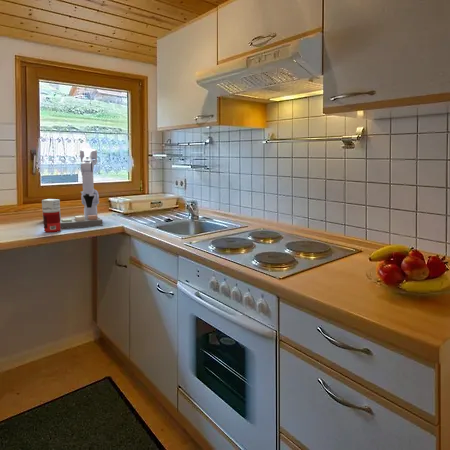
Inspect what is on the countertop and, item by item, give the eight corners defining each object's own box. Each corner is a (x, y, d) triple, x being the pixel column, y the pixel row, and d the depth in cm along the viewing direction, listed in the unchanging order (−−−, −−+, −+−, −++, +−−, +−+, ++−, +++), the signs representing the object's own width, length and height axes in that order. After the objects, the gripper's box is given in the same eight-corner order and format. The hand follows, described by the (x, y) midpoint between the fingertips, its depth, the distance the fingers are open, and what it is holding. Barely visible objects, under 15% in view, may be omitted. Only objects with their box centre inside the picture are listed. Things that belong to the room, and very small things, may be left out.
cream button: (75, 221, 223) (74, 216, 222) (83, 220, 225) (82, 215, 225) (76, 222, 219) (76, 217, 219) (84, 221, 222) (84, 216, 221)
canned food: (64, 230, 208) (62, 209, 206) (53, 233, 200) (51, 211, 198) (52, 229, 210) (50, 209, 208) (41, 232, 203) (39, 211, 201)
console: (57, 225, 222) (57, 220, 221) (97, 221, 233) (97, 216, 233) (61, 228, 212) (60, 223, 211) (102, 225, 223) (102, 219, 223)
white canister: (42, 221, 235) (41, 200, 233) (50, 219, 242) (49, 198, 240) (53, 221, 234) (51, 200, 231) (61, 219, 241) (59, 199, 238)
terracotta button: (87, 220, 227) (87, 215, 226) (95, 219, 229) (95, 214, 228) (89, 221, 223) (89, 216, 222) (97, 220, 225) (97, 215, 225)
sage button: (62, 224, 220) (61, 219, 219) (70, 224, 222) (70, 218, 221) (63, 225, 216) (63, 220, 215) (71, 225, 218) (71, 219, 218)
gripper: (77, 183, 227) (79, 206, 230) (83, 184, 215) (84, 209, 218) (90, 182, 231) (91, 205, 233) (96, 184, 219) (97, 208, 221)
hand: (89, 207), depth 226 cm, fingers closed
